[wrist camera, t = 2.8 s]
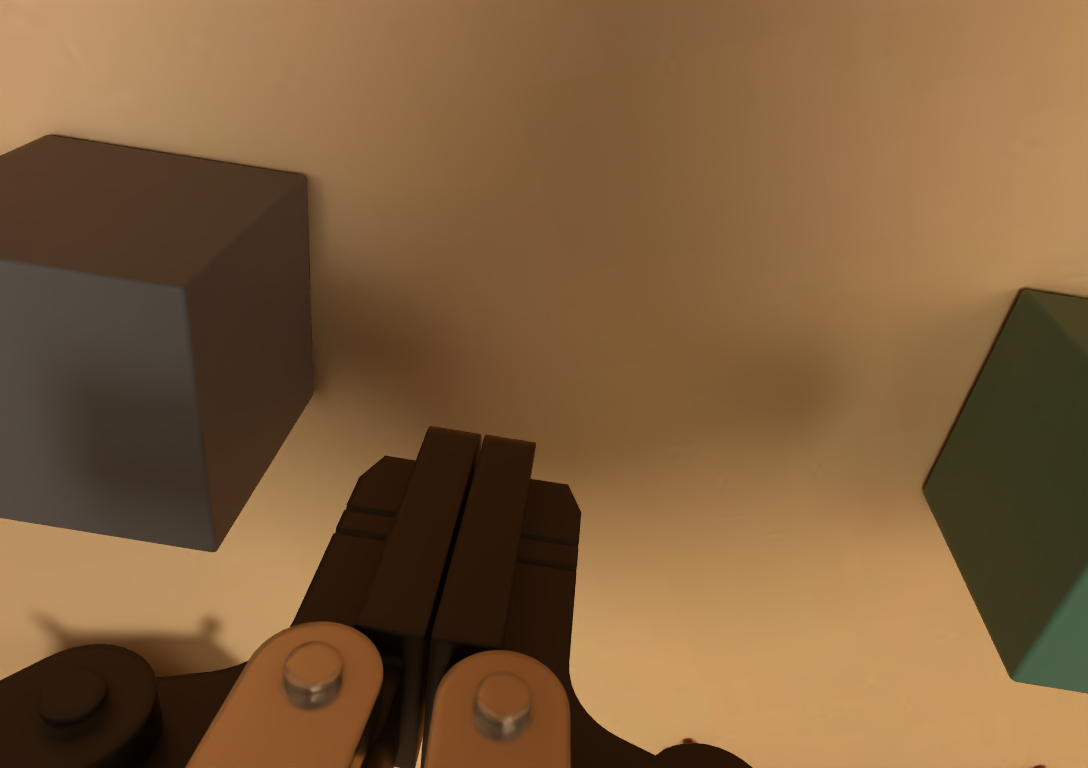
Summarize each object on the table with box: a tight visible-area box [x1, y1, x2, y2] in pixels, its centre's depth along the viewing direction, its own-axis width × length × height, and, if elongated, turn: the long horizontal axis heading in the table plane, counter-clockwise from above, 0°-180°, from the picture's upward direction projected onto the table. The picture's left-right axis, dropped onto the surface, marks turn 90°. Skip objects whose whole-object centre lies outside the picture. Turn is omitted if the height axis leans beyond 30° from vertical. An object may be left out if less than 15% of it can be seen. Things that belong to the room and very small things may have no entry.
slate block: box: [0, 135, 313, 552], centre depth 13 cm, size 5×5×5 cm
